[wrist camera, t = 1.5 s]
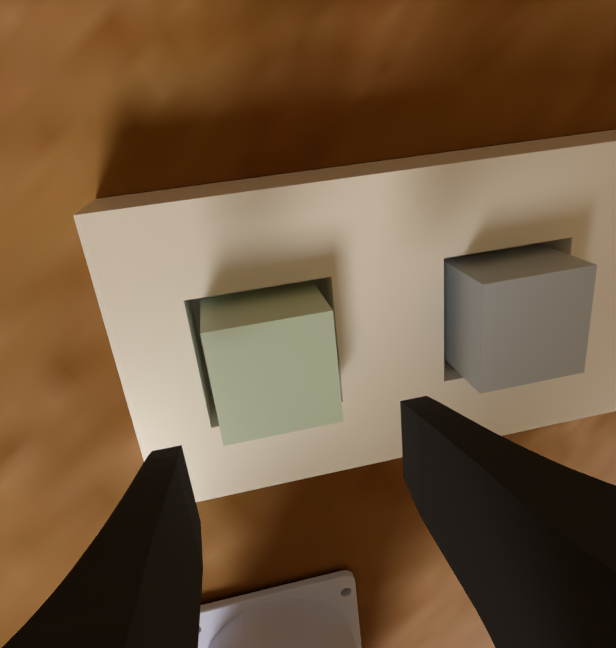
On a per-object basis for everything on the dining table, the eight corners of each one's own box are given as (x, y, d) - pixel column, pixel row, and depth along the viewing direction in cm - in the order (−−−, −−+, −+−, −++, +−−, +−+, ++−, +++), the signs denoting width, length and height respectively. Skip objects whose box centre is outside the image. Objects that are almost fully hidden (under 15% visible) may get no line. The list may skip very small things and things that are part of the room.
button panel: (717, 344, 23) (785, 374, 21) (164, 456, 20) (158, 510, 17) (771, 108, 19) (865, 106, 17) (95, 198, 16) (73, 215, 13)
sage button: (323, 378, 18) (343, 421, 15) (220, 397, 17) (223, 445, 15) (312, 280, 16) (332, 310, 14) (200, 299, 16) (200, 333, 13)
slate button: (532, 338, 19) (584, 372, 16) (441, 355, 18) (479, 393, 16) (539, 243, 17) (597, 264, 15) (440, 259, 17) (483, 284, 14)
